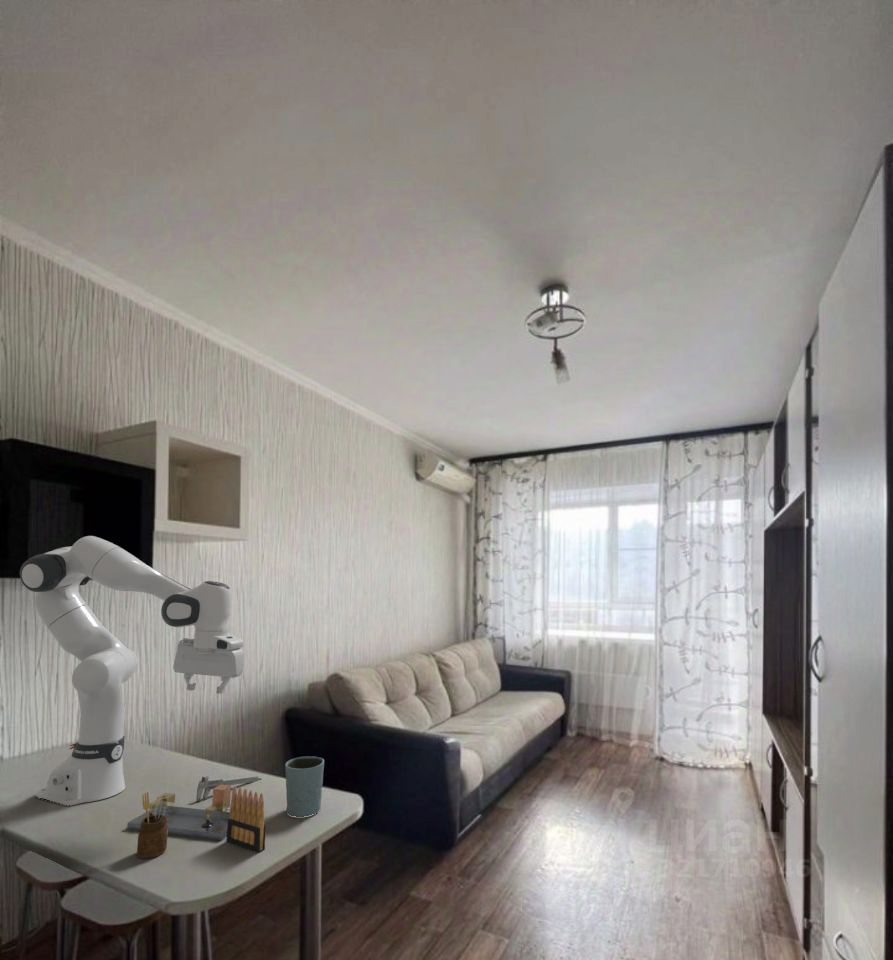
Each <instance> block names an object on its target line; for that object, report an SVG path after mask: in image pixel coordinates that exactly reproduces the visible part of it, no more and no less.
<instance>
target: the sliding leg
mask: <svg viewBox="0 0 893 960" xmlns="http://www.w3.org/2000/svg"><path fill="white" fill-rule="evenodd" d="M212 790H213V791H212V799H211V800H212V801H211V802H212V803H211V805H209V806H206V807H207V808H206V809H205V814H207V816H206V824H209V823H210V813H211V812H213V811H220V812H223V811H224V810H226V809H228V808H229V809H230V805H231V796H232V792H231V791H232V785H221V784H220V785H219V786H217V787H216V788H214V789H212Z"/></svg>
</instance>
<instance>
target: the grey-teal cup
mask: <svg viewBox="0 0 893 960" xmlns="http://www.w3.org/2000/svg"><path fill="white" fill-rule="evenodd" d="M284 767H285V768H284V769H285V788H286V814H287V813H288V814H289V815H291V816H296V817H304V816H309V815H312V814H315V813H317V812H318V811H319V810H320V811H321V806H322V805H321V804H322V796H323V795H322V793H323V789H322V788H323V783H324V768H325V759H324V758H322V757H318V756H314V755H313V756H299V757H295V758H292V759H289V760H288V761H286V762H285V765H284ZM320 811H319V812H320ZM288 814H287V815H288ZM317 814H318V813H317Z"/></svg>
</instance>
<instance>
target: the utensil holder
mask: <svg viewBox="0 0 893 960" xmlns="http://www.w3.org/2000/svg"><path fill="white" fill-rule="evenodd" d="M141 796H142V797H141V798H142V808H143V810H145V812H146V816H147V817H146V818H144V819H143V820H142V822H141V829H140V831H139V832H138V835H137V845H136V846H137V847H136V853H137V854H136V855H137V857H138V858H140V859H144V860H145V859H147V860H148V859H152V858H153V859H154V858H157V857H159V856H162V855H163V854H164V853H165V852H166V849H167V846H168V845H167V844H168V836H169V834H168V827H167V825H166V823H167V817H166V816H165V814H156V815H151V816H148V811H149V809H148V808H149V806H150V803H151V802H150V797H149V791H148V792H146V793H145V792H144V793H143V794H142V795H141ZM161 802H163V803H164V802H165V801H161ZM158 803H159V802H158ZM158 803H157V805H158ZM165 803H166V802H165ZM161 804H162V803H161ZM164 805H165V804H164ZM166 805H167V804H166ZM161 807H162V805H161ZM161 807H160V808H161ZM166 807H167V806H166ZM155 808H156V807H155ZM164 808H165V807H164ZM156 809H157V808H156ZM156 811H157V810H156ZM160 811H161V810H160ZM164 811H165V810H164ZM154 812H155V811H154ZM159 813H160V812H159Z"/></svg>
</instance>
